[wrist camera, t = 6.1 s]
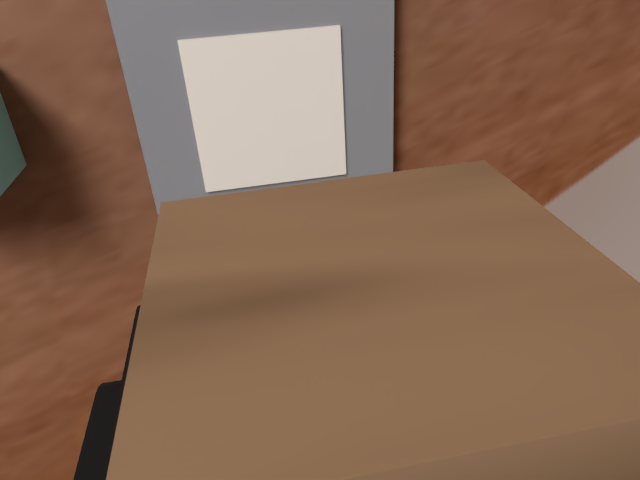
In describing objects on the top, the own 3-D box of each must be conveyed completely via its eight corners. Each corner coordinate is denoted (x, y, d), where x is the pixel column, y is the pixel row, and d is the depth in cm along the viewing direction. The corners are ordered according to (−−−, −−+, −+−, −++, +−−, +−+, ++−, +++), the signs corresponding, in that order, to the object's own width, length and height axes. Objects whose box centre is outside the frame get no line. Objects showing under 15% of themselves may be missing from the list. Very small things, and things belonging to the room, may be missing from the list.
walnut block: (461, 388, 13) (626, 682, 8) (216, 434, 12) (219, 793, 7) (484, 160, 10) (777, 391, 5) (161, 202, 9) (96, 528, 4)
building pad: (387, 218, 29) (393, 228, 28) (169, 248, 28) (168, 260, 27) (387, -71, 22) (396, -72, 21) (98, -51, 21) (92, -50, 20)
